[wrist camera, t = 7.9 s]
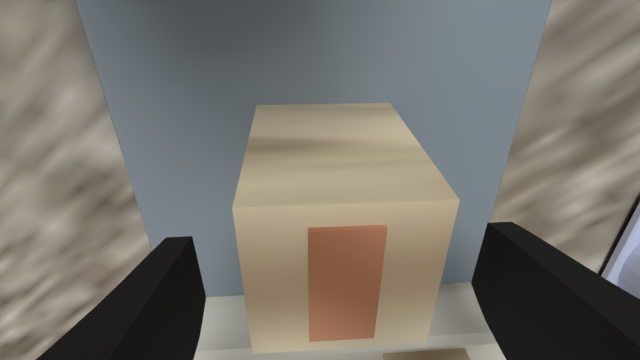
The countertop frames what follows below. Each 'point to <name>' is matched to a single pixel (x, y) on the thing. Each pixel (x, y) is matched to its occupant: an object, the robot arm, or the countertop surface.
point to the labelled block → (339, 228)
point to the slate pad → (306, 97)
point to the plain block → (429, 355)
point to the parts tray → (445, 333)
